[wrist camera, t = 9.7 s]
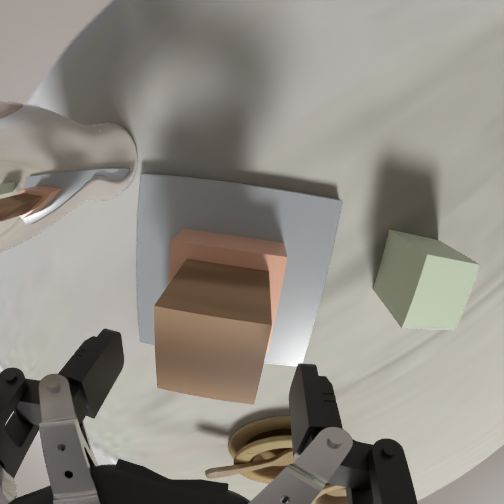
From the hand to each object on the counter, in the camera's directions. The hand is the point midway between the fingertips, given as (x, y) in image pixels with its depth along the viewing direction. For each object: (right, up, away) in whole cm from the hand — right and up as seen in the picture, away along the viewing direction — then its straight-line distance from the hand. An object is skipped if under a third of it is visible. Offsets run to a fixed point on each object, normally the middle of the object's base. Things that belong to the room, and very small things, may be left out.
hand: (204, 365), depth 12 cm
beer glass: (-9, +12, +8) cm, 17 cm away
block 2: (+15, +4, +9) cm, 18 cm away
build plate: (0, +3, +10) cm, 11 cm away
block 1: (0, +2, +6) cm, 7 cm away
